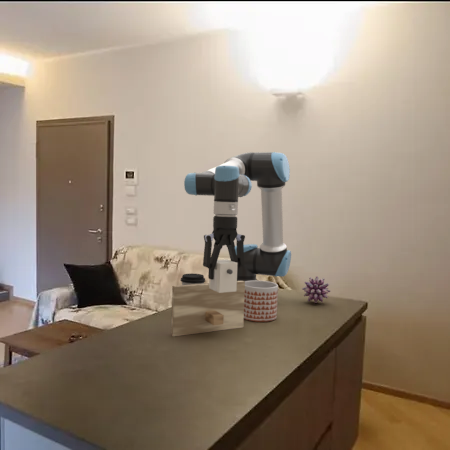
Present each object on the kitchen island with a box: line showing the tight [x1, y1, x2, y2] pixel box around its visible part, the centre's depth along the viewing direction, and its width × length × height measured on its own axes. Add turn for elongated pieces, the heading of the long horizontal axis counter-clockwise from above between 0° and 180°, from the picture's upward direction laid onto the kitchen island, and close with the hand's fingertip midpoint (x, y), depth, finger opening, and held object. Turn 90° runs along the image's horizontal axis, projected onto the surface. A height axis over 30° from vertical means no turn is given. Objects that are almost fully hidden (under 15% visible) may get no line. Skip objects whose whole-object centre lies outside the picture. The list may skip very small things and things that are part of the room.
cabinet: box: [208, 259, 237, 293], centre depth 143 cm, size 8×6×9 cm
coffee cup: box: [180, 273, 206, 285], centre depth 171 cm, size 9×9×15 cm
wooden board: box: [170, 281, 245, 337], centre depth 150 cm, size 8×26×16 cm, turn 118°
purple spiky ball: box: [301, 275, 331, 304], centre depth 196 cm, size 12×12×12 cm
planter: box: [244, 279, 279, 323], centre depth 172 cm, size 14×14×13 cm
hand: (222, 288), depth 144 cm, fingers closed on cabinet, 6 cm apart
